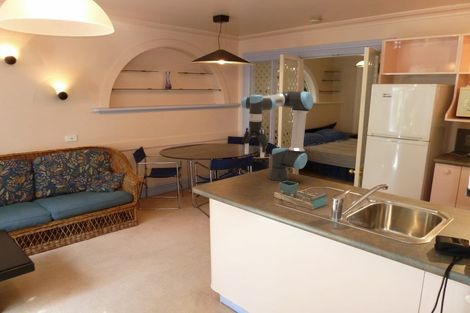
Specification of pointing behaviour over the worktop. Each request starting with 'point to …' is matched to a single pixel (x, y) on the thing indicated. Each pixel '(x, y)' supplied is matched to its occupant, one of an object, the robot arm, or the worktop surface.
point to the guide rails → (297, 201)
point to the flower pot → (288, 187)
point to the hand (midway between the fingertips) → (254, 155)
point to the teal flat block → (319, 200)
